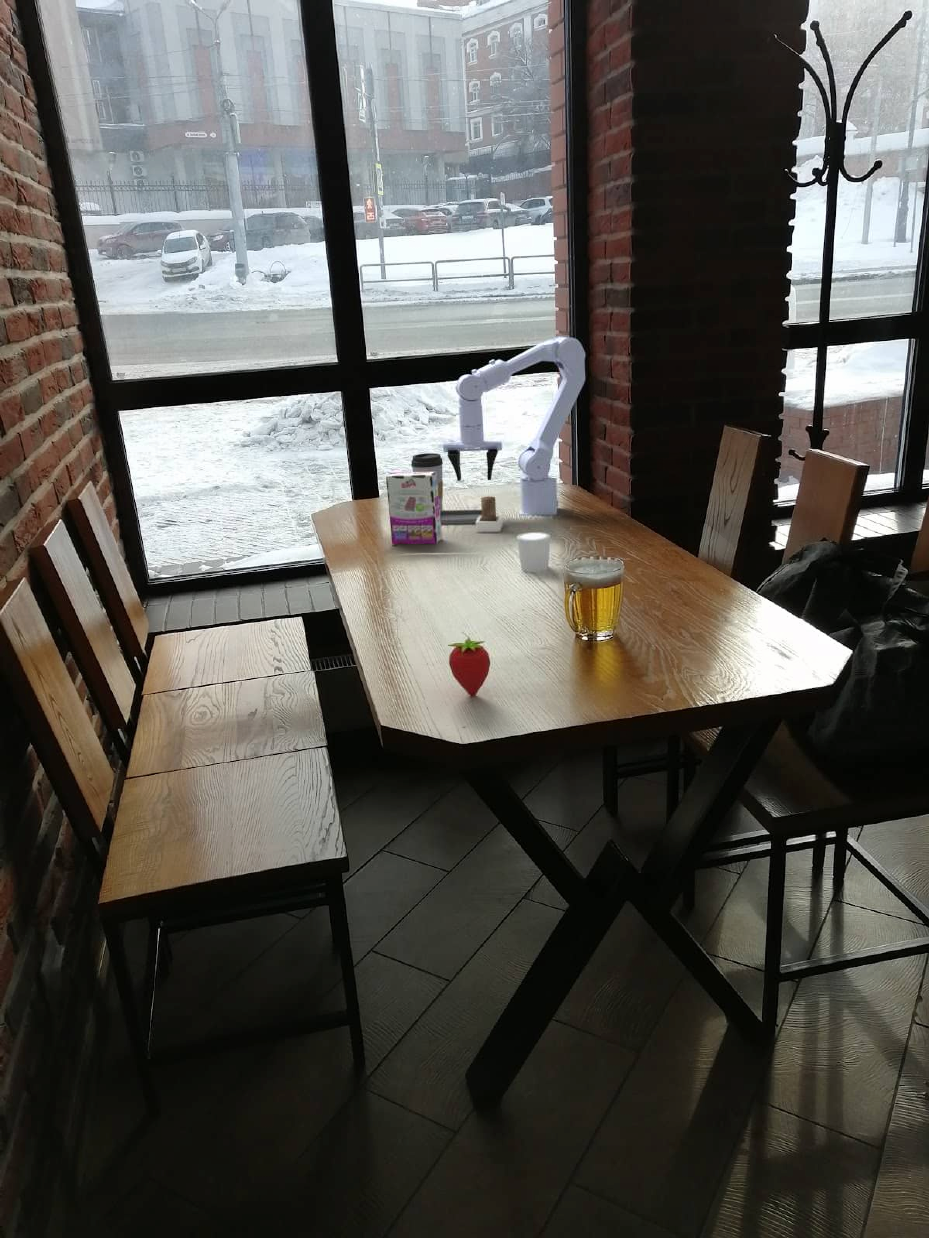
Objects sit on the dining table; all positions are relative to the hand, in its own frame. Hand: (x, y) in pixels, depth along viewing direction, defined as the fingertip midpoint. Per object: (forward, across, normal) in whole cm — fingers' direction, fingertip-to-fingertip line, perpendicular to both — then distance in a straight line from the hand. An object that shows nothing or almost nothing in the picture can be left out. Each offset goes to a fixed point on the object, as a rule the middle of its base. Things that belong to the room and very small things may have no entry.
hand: (474, 479), depth 234 cm
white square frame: (+10, +5, -12) cm, 17 cm away
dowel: (+10, +5, -12) cm, 16 cm away
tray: (+10, -3, -2) cm, 11 cm away
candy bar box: (+10, -11, -22) cm, 27 cm away
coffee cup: (+10, -13, +8) cm, 18 cm away
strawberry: (+10, +14, -107) cm, 109 cm away
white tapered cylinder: (+10, +18, -44) cm, 49 cm away
